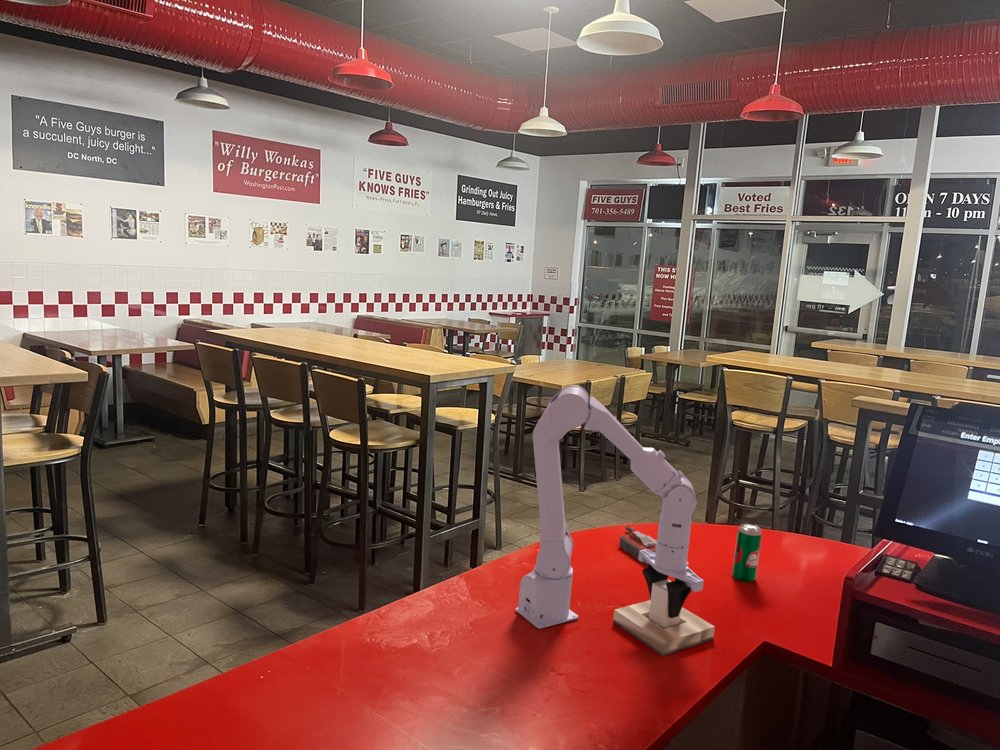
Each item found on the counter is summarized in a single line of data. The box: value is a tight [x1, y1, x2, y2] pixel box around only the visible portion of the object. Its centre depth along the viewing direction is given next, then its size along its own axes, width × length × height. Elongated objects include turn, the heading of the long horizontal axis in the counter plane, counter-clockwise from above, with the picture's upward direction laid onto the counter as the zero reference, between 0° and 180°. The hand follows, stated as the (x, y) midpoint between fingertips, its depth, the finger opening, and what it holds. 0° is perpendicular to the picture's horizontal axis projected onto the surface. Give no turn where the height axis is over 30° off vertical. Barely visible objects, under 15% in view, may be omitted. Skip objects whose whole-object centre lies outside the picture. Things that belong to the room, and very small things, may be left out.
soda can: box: [731, 523, 763, 583], centre depth 160 cm, size 5×5×12 cm
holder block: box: [613, 599, 715, 657], centre depth 135 cm, size 13×13×2 cm
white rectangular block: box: [649, 579, 681, 628], centre depth 134 cm, size 4×4×7 cm
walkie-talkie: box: [618, 525, 657, 566], centre depth 173 cm, size 9×4×20 cm
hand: (664, 611), depth 135 cm, fingers closed on white rectangular block, 4 cm apart
